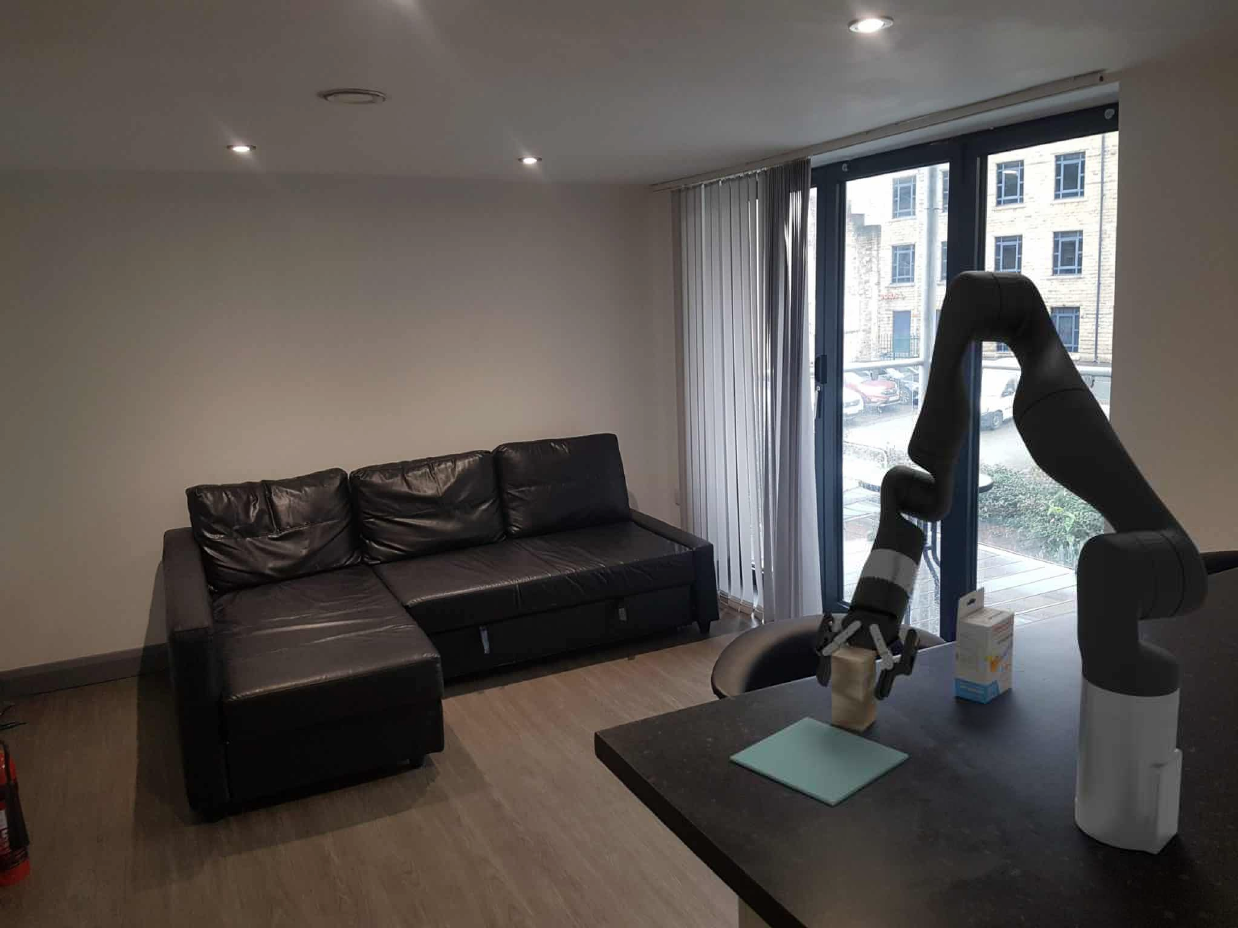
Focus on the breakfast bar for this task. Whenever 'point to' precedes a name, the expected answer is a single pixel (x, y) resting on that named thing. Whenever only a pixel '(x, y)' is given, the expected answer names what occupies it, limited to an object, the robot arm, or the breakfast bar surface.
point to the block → (853, 687)
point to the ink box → (983, 649)
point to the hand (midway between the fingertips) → (849, 691)
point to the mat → (820, 760)
